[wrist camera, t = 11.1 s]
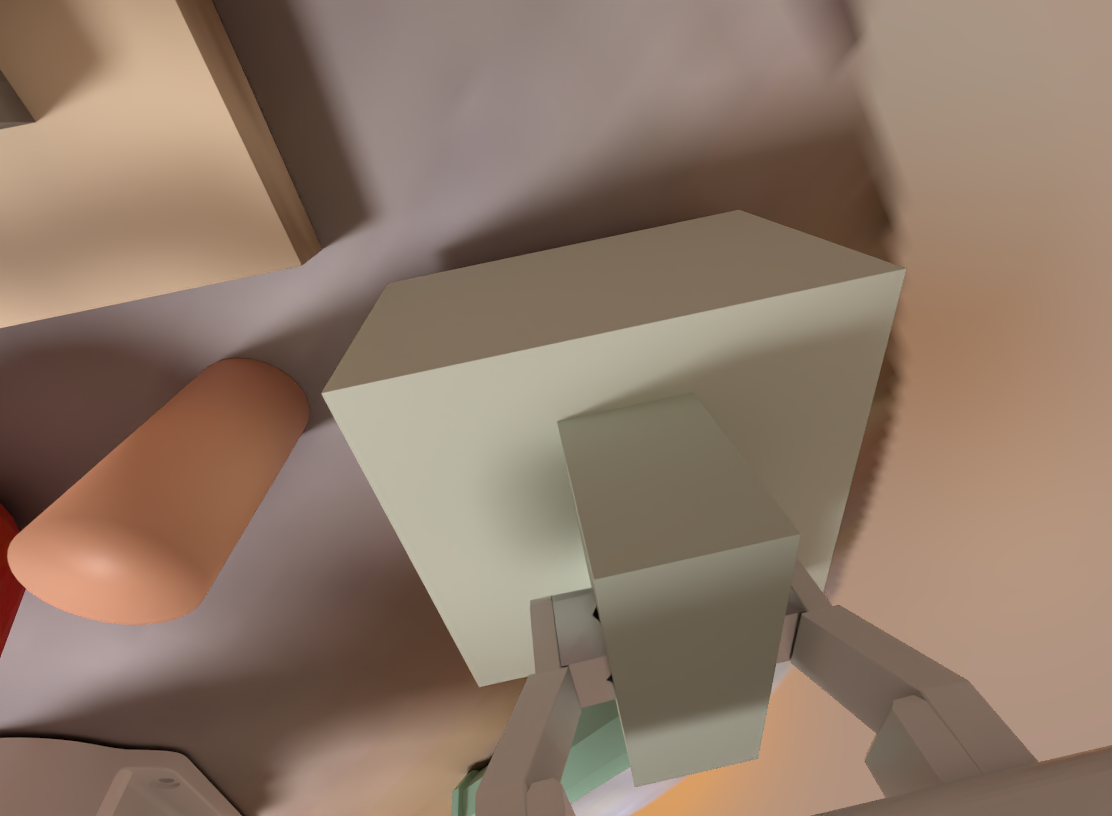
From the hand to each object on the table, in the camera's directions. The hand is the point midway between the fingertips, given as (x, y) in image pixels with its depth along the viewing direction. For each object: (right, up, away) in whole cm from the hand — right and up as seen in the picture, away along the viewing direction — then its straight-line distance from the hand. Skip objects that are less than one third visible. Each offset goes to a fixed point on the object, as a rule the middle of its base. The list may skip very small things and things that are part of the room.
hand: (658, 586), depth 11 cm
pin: (-14, +4, +7) cm, 17 cm away
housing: (-1, +5, +7) cm, 9 cm away
